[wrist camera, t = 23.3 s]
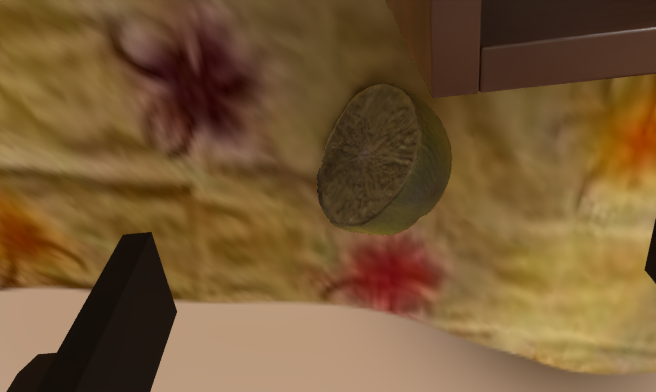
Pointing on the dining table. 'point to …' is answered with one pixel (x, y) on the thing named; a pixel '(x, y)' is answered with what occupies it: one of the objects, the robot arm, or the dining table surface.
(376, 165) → the lime
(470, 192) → the dining table surface
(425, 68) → the box
